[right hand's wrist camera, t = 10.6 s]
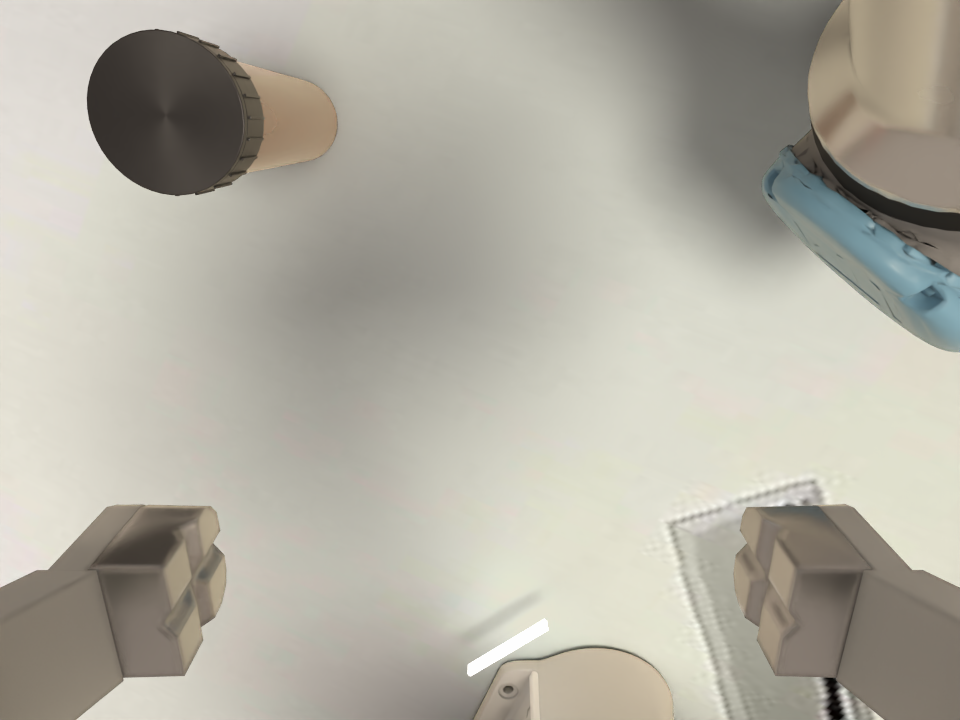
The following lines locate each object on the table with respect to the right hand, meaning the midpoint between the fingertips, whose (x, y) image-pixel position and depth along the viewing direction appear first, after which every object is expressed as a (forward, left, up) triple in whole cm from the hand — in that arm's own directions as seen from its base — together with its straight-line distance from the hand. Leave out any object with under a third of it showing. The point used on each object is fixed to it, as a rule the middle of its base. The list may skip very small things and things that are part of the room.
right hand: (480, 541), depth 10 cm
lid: (-1, +13, -18) cm, 22 cm away
